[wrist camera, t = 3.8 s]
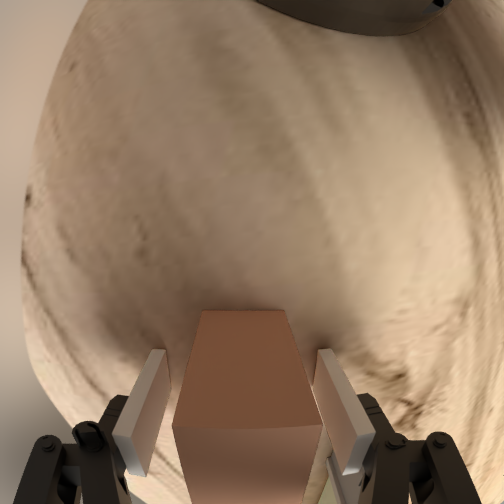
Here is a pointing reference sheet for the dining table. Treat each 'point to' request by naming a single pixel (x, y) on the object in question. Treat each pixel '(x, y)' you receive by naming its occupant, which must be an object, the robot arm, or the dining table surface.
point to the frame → (344, 482)
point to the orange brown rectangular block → (246, 412)
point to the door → (327, 494)
